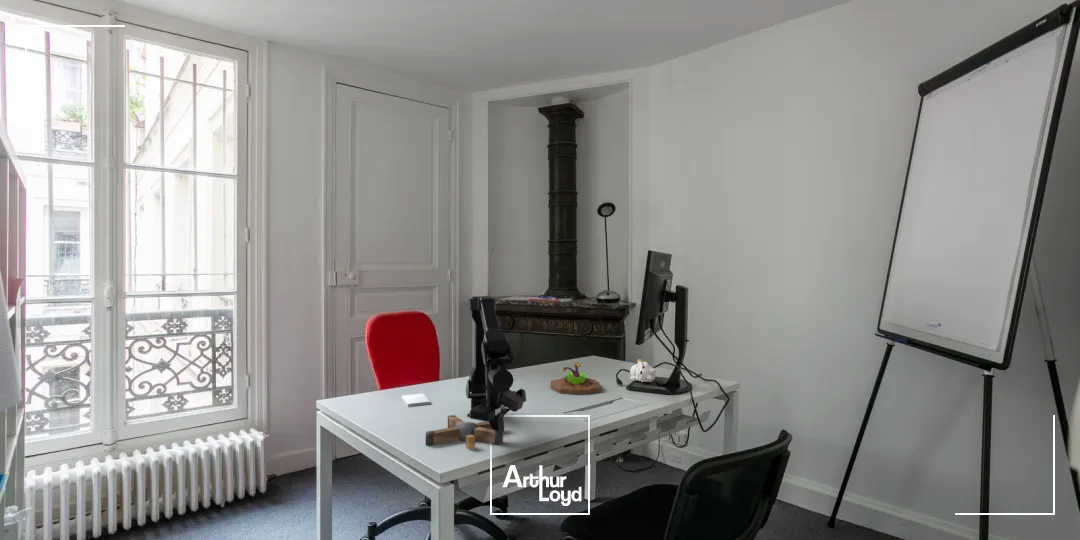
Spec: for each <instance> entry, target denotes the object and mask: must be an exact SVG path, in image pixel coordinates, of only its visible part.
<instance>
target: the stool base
mask: <svg viewBox="0 0 1080 540" xmlns="http://www.w3.org/2000/svg"><path fill="white" fill-rule="evenodd" d="M477 427H482V428H488V429H492V427H491V425H490V423H489V421H482V422H481V421H480V422H472V421H469V422H468V421H464V420H463V419H461V418H459V417H458V416H457V415H453V414H451V415H448V416H447V428H441V429H435V430H428V431H426V432H425V446H427V447H428V446H429V447H431V446H435V445H436V446H437V445H440V444H441V445H442V444H447V443H451V442H458V441H462V442H465V448H466V449H467V450H470V451H471V450H474V449H476V440H475V436H474V429H475V428H477ZM500 431H503V433H504V432H505V419H503V421H502V425H501V428H500Z"/></svg>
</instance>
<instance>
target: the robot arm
mask: <svg viewBox="0 0 1080 540" xmlns="http://www.w3.org/2000/svg"><path fill="white" fill-rule="evenodd" d="M467 310H468V311H469V316H470V317H471V319H472V322H474V323H473V324H474V325H473V326H474V329H473V330H474V331H473V335H474V336H473V343H474V344H473V367H472V369H470V372H469V373H468V379H467V381H466V386H465V396H466V398H467V399H468V400H469V399H470V410H469V413H468V414H466V416H467V417H469V418H470V419H472V420H478V421H482V422H486V421H489V423H490V425H491V427H492V429H493V430H499V431H500V428H501V425H502V421H503V420H504V418H505V416H506V415H507V414H508V413H509V412H510V411H511V412H515V413H516V412H518V411H519V410H521V409H522V408H523V407H524V403H526V402H527V395H526V394H527V393H526V390H525V389H524V388H520V389H518V390H511V388H512V386H513V384H514V376H513V374H512V373H511V372H510V370H509V369H508V365H512V364H513V360H514V355H513V350H512V345H511V344H510V342H509V341H508V338H507V335H506V333H504V331H502V330H501V329H500V325H499V321H498V317H497V314H496V310H497V299H496V298H493V297H491V295H489V296H488V295H486V296H485V295H484V296H483V295H482V296H471V297H470V299H468V300H467Z"/></svg>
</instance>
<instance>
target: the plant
mask: <svg viewBox="0 0 1080 540" xmlns="http://www.w3.org/2000/svg"><path fill="white" fill-rule="evenodd" d="M581 366H582V364H581V363H580V362H579V361H577V362H576V363H574V369H575V370H574V369H572V368H571V367H568V366H567V367H566V366H565V367H563V368H562V372H566V370H567V369H568V370H569V371H568V372H566V374H563V376H564V377H561V378H558V379H553V380H550V390H552V391H555V392H556V393H558V394H560V395H570V396H580V395H582V396H583V395H591V394H600V393H601V392H602V391H601V389H602V388H601V383H600V382H599V381H597V379H594V378H590V377H589V376H590V375H586V372H581V373H579V372H580V371H579V368H580V367H581ZM585 375H586V376H585Z"/></svg>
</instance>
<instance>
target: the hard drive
mask: <svg viewBox="0 0 1080 540" xmlns="http://www.w3.org/2000/svg"><path fill="white" fill-rule="evenodd" d="M401 399H402V401H403V403H404V404H405V405H406V406H407V407H408V408H409V407H418V406H428V405H430V406H431V405H432V401H430V399H429V398H428V397H427V396H426V395H425V393H413V394H405V395H404V394H403V395H401Z"/></svg>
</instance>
